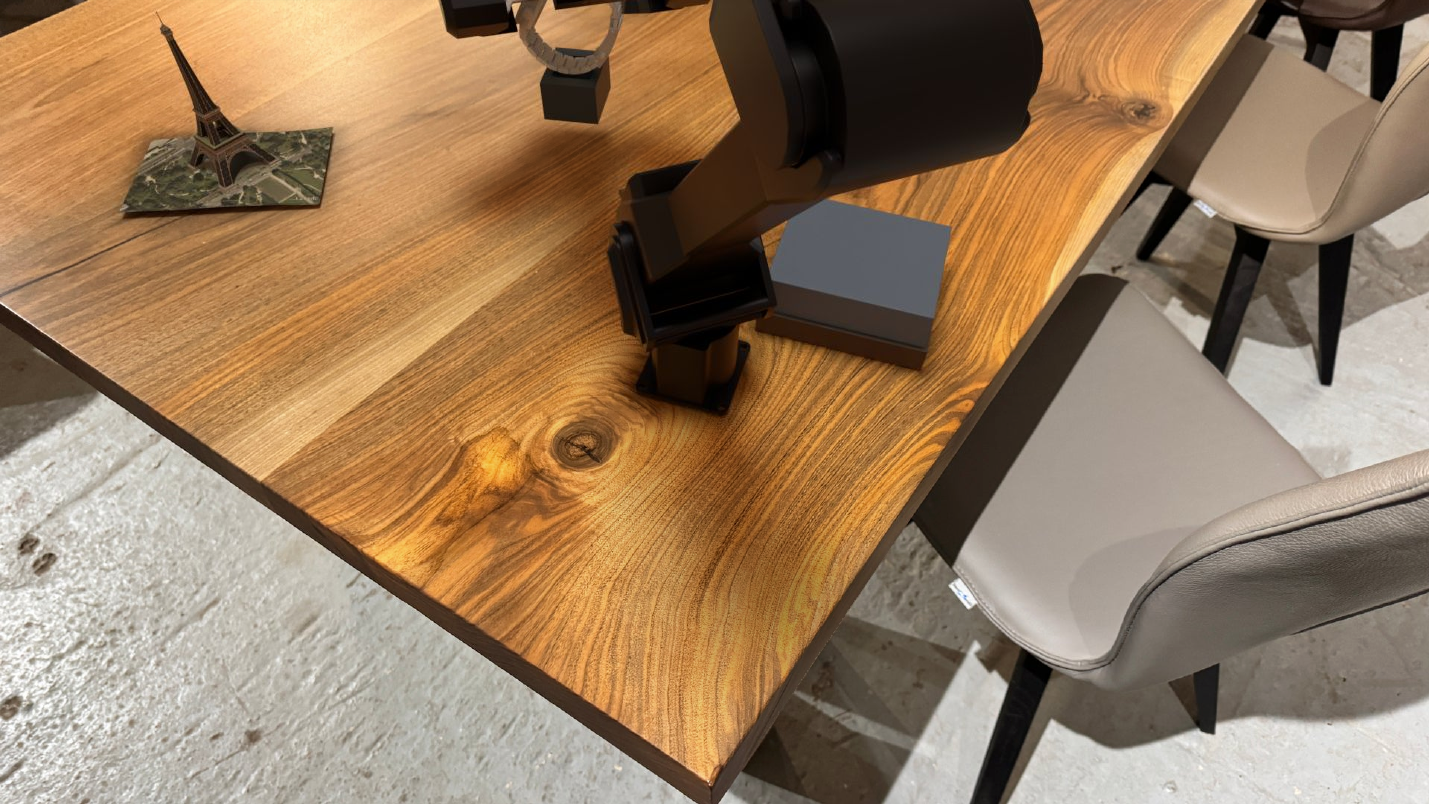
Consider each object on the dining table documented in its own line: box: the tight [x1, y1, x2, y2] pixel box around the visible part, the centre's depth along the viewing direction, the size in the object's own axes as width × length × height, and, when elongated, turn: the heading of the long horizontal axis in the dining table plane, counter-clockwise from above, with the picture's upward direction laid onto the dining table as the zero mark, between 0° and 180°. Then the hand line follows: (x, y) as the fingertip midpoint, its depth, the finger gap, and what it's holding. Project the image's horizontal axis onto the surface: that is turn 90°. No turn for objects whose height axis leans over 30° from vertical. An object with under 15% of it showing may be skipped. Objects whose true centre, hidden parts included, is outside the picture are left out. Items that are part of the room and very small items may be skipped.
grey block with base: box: [754, 198, 953, 371], centre depth 60 cm, size 10×12×5 cm
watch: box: [514, 0, 625, 125], centre depth 64 cm, size 6×8×11 cm
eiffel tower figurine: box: [118, 11, 334, 214], centre depth 63 cm, size 15×10×13 cm
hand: (564, 14), depth 64 cm, fingers closed on watch, 8 cm apart
